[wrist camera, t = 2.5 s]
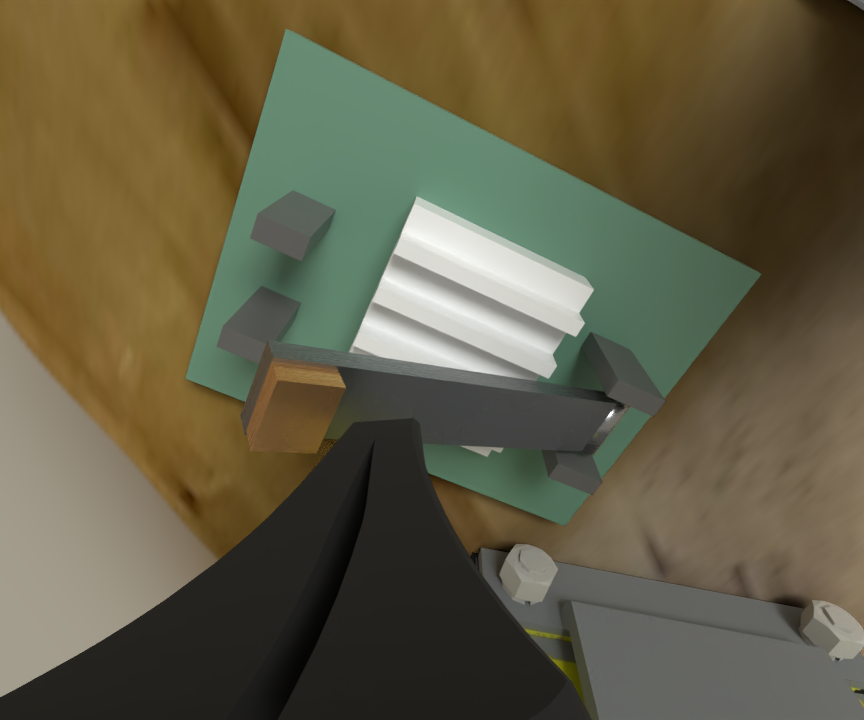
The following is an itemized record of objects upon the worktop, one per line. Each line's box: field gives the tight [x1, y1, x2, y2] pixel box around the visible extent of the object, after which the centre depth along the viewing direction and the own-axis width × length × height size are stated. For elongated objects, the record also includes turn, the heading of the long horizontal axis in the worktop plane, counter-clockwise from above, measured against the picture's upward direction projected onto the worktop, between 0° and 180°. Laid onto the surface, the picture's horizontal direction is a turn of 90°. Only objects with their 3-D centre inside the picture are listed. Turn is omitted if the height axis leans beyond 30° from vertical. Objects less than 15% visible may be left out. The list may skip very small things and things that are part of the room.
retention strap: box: [241, 340, 630, 455], centre depth 14 cm, size 12×2×1 cm, turn 66°
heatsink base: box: [185, 29, 761, 526], centre depth 17 cm, size 16×12×4 cm
